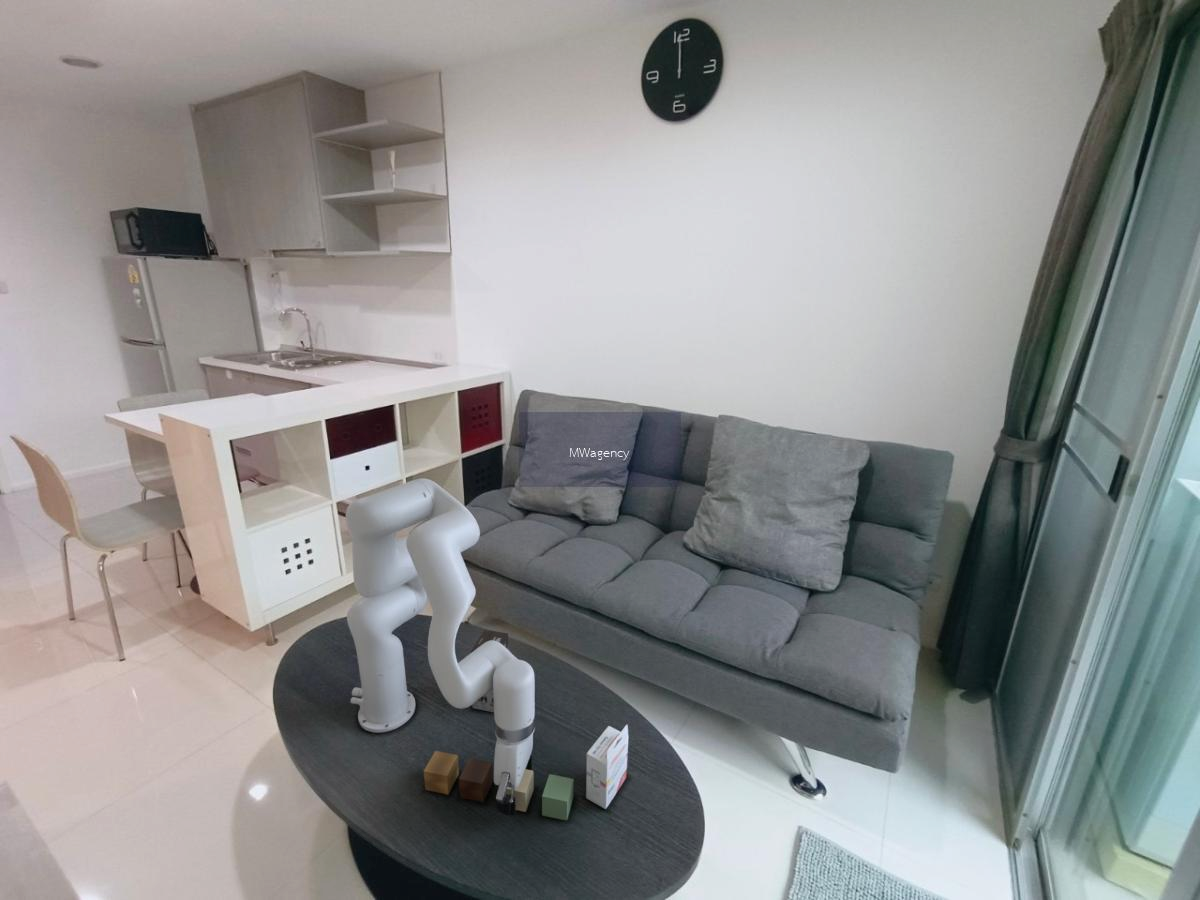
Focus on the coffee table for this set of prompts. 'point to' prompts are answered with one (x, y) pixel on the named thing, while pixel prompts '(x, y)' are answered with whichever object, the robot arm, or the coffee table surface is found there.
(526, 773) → the cream block
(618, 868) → the coffee table surface
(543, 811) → the sage block
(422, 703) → the coffee table surface
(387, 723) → the robot arm
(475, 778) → the walnut block
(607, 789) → the ink cartridge box
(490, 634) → the coffee box
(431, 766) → the honey block
